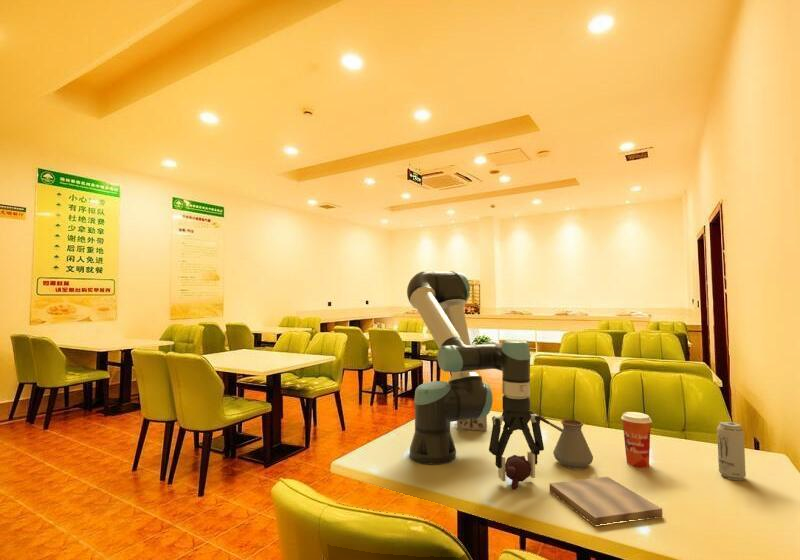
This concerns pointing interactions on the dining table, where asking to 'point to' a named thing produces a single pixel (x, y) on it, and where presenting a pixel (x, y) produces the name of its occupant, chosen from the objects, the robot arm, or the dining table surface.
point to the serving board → (604, 500)
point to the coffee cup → (637, 438)
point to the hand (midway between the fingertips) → (516, 477)
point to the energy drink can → (731, 450)
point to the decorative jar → (473, 424)
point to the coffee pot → (571, 445)
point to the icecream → (517, 470)
